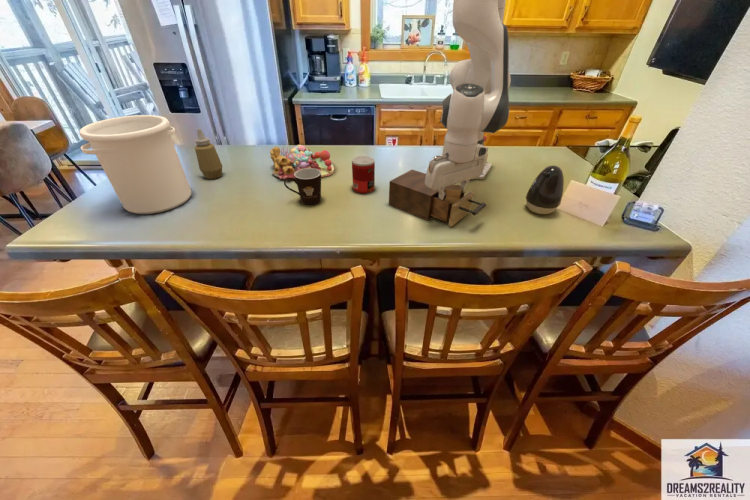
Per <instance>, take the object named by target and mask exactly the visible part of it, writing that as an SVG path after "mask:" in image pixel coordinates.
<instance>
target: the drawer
mask: <svg viewBox="0 0 750 500" xmlns="http://www.w3.org/2000/svg"><path fill="white" fill-rule="evenodd" d="M438 196H439V193H438V194H437V195H435V196H433V197H432V203H431V210H430V216H433V217H432V218H435V219H437V220H441V221H443V222H448V226H450V227H453V226H454V225H456V224H457V223H458V222H459V221H461V220H462V219H463V218H465V217H466V216H467V215H468V214H471V215H472V216H473V217H476V216H477V215H478V214H479V213H480V212H481V211H482V210H483V209H485V208H486V207H487V203H486V202H479V201H476V200H473V198H474V192H473V191H469V192H467V193H466V191H464V193H461V194H460V199H459V200H458V201H457V202H456V203H454V204H450V202H447V201H445V200H441V199H439V197H438ZM472 204H475V205H477V207H476V208H474V209H473V210H471V208H472Z"/></svg>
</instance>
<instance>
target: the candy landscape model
mask: <svg viewBox="0 0 750 500" xmlns="http://www.w3.org/2000/svg"><path fill="white" fill-rule="evenodd" d="M288 151H289V152H288ZM269 153H270V159H271V160H272V162H273V165H271V167H272V168H273V170H272V172H271V174H272V175H273V176H274V177H277V178H279V180H285V179H286V178H294V179H295V176H294V173H295V172H296V171H298V170H301V169H305V168H314V169H318V170H320V171H321V178H325V177H329V176H331V175H333V174H334V172H335V166H334V164H333V161H332V160H331V153H330V152H329V151H328V150H326V149H323V150H321V151H315V152H313V151H311V149H310V148H308V147H306V146H305V145H304V144H302V145H301V144H297V145H296V146H293V147H291V146H290V147H289V150H288V148H286V150H285V148H284V147H282V148H280V147H278V146H273V148H271V149H270V151H269ZM313 153H314V154H313ZM289 181H290V179H289V180H287V181H286V182H289Z"/></svg>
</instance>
